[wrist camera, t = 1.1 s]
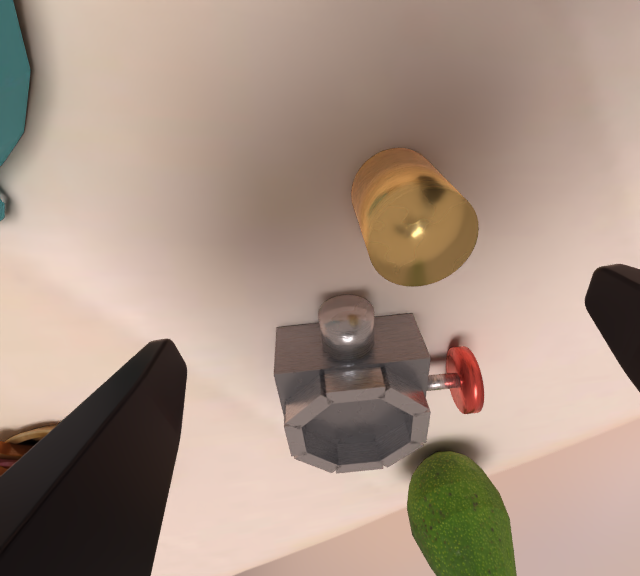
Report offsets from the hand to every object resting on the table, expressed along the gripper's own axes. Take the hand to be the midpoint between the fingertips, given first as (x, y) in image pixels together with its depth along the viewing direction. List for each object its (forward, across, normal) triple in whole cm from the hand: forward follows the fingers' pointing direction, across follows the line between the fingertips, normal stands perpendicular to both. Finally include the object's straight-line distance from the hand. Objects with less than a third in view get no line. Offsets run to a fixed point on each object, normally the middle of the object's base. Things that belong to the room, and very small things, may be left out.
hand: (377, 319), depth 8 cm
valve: (+12, -1, +15) cm, 20 cm away
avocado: (+12, -6, +30) cm, 33 cm away
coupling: (+12, -3, +2) cm, 13 cm away
